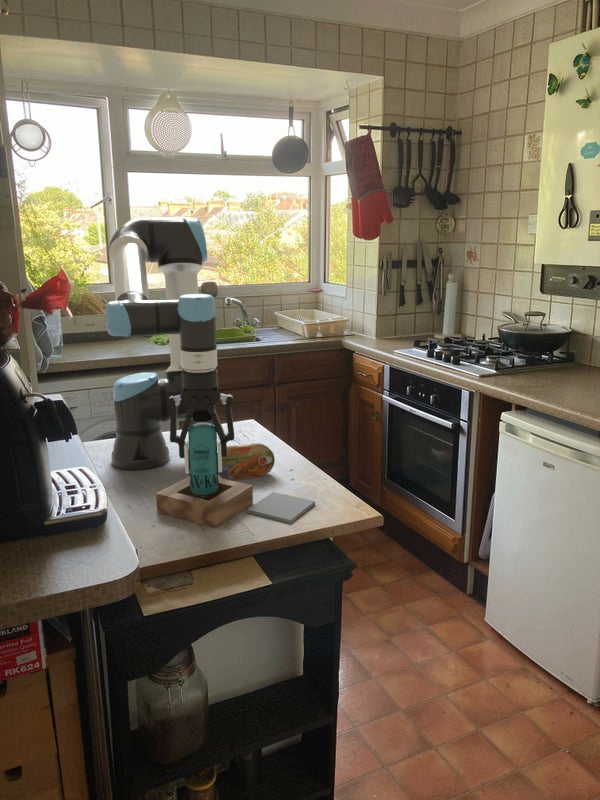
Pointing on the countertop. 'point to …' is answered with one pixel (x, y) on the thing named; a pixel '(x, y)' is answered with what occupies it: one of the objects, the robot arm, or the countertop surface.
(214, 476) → the beverage bottle
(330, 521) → the countertop surface
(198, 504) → the walnut bottle holder
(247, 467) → the tin
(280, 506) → the slate mat
